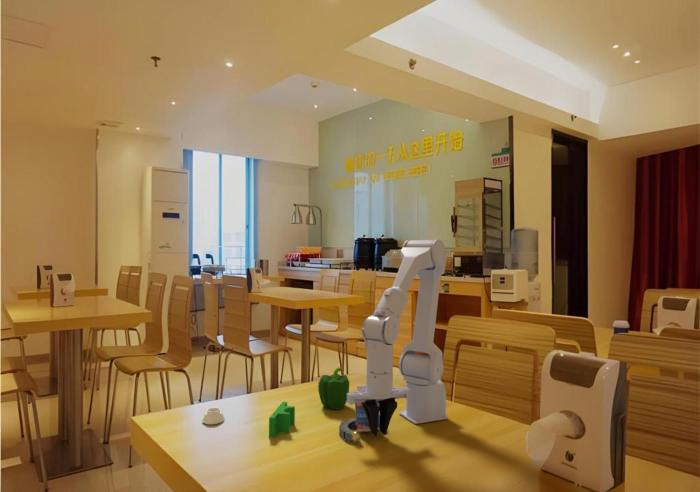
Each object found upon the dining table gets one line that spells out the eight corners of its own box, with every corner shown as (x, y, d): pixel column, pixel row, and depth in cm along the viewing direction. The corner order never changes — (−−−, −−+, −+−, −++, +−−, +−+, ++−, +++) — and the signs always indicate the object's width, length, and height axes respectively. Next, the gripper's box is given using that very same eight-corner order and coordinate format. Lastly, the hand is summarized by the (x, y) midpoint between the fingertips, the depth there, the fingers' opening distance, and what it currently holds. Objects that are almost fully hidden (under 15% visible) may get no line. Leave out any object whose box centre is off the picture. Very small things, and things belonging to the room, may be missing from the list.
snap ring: (386, 428, 107) (386, 419, 107) (356, 445, 98) (356, 434, 98) (359, 421, 111) (359, 411, 112) (328, 436, 102) (329, 426, 102)
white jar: (226, 424, 109) (222, 417, 114) (226, 411, 109) (222, 405, 114) (204, 427, 107) (201, 420, 112) (204, 414, 107) (201, 407, 112)
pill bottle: (355, 432, 102) (351, 386, 104) (358, 429, 107) (354, 386, 110) (380, 430, 101) (375, 384, 104) (382, 428, 106) (377, 383, 109)
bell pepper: (327, 414, 116) (328, 374, 116) (313, 404, 123) (313, 367, 123) (356, 409, 120) (356, 370, 120) (340, 400, 127) (341, 363, 127)
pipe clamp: (285, 439, 101) (285, 418, 101) (268, 438, 101) (269, 417, 101) (297, 420, 112) (297, 401, 112) (282, 419, 112) (282, 401, 112)
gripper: (400, 364, 107) (400, 423, 107) (342, 369, 102) (341, 431, 102) (415, 372, 101) (414, 434, 100) (353, 377, 96) (352, 443, 95)
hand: (378, 433), depth 101 cm, fingers closed
